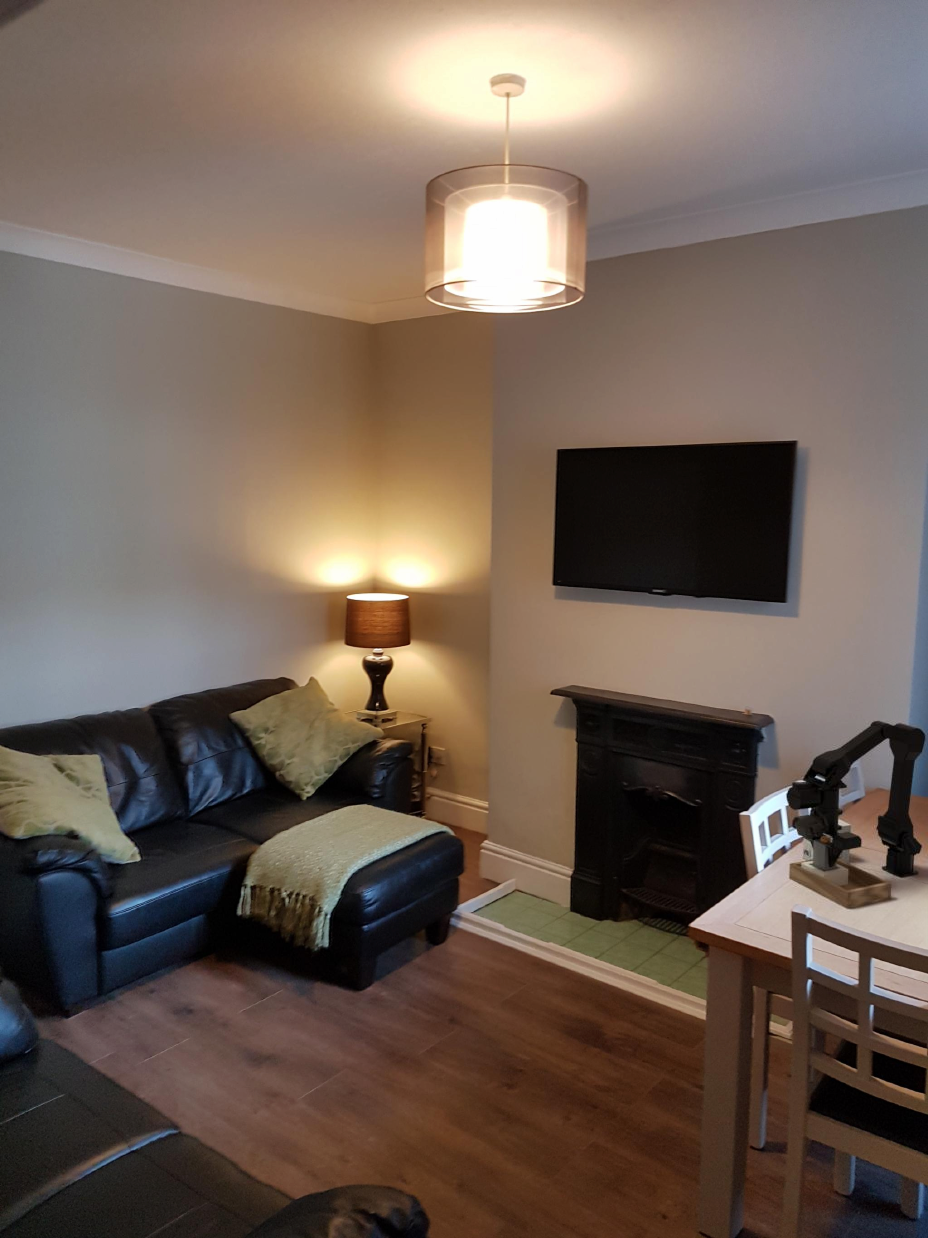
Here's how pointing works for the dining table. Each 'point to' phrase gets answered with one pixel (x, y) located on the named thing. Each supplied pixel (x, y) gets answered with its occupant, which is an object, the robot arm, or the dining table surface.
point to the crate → (853, 894)
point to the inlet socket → (829, 873)
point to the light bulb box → (845, 828)
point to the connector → (822, 854)
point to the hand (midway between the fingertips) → (824, 864)
